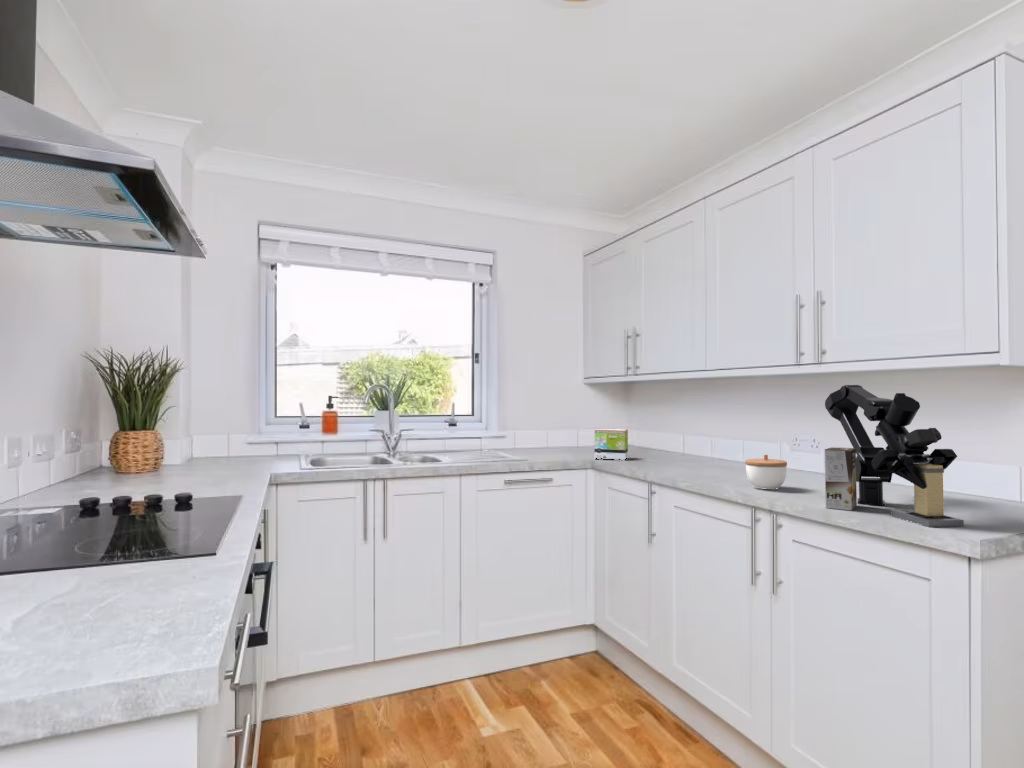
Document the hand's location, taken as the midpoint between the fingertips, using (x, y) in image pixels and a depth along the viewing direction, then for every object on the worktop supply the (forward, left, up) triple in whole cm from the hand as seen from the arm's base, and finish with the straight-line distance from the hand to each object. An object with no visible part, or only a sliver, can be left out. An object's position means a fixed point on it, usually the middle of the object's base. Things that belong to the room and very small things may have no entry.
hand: (932, 487), depth 134 cm
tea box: (-89, -117, -9) cm, 147 cm away
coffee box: (-12, -19, -9) cm, 24 cm away
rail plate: (-1, -1, -8) cm, 9 cm away
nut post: (-1, -1, -7) cm, 7 cm away
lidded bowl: (-35, -41, -9) cm, 55 cm away
